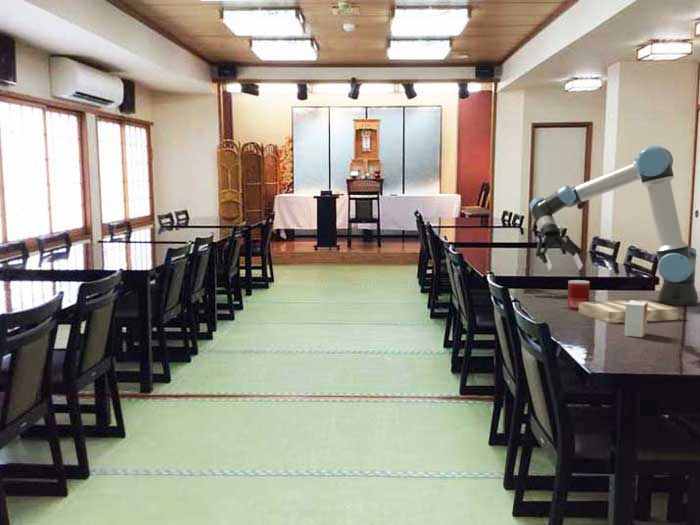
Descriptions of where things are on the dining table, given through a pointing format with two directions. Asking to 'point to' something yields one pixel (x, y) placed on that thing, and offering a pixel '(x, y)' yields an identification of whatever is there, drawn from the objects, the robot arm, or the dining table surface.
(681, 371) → the dining table surface
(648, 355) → the dining table surface
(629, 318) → the small box
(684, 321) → the dining table surface
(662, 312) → the maple plank
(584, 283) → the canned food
